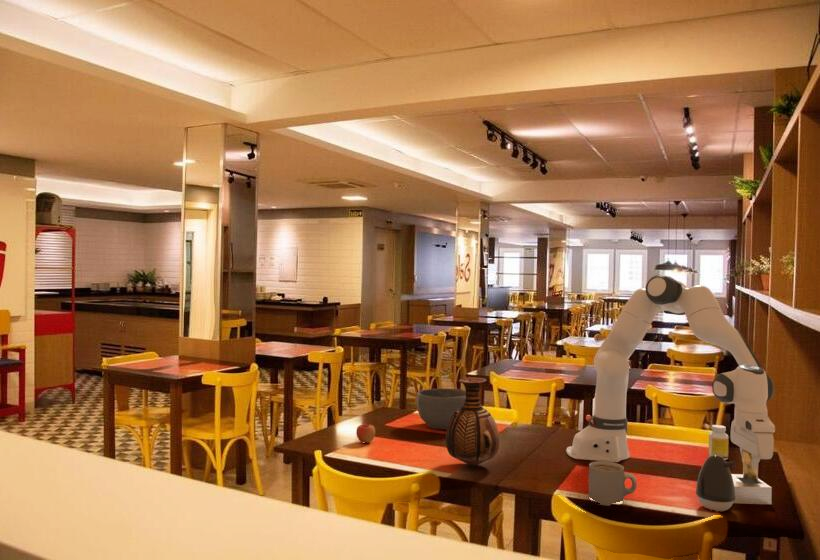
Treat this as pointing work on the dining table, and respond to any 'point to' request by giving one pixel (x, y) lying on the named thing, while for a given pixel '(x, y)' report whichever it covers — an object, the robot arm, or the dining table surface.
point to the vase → (472, 428)
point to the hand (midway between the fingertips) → (749, 465)
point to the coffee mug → (609, 482)
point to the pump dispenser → (716, 484)
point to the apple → (365, 433)
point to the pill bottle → (718, 442)
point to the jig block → (751, 491)
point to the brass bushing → (748, 467)
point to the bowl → (439, 405)
